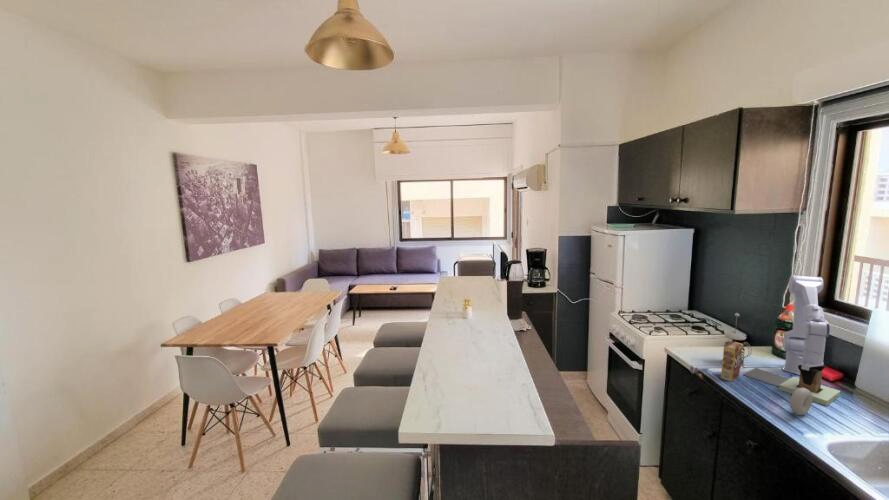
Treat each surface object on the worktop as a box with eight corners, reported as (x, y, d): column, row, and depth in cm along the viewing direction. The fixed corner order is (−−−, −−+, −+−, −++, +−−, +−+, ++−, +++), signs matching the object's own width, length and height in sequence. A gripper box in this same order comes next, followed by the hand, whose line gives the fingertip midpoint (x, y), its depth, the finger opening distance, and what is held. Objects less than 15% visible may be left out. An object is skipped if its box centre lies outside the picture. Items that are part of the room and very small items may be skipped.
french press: (728, 357, 177) (732, 309, 174) (755, 367, 167) (760, 316, 163) (715, 361, 174) (719, 311, 171) (741, 371, 163) (746, 319, 160)
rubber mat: (755, 368, 166) (756, 367, 166) (790, 379, 155) (790, 378, 155) (743, 375, 160) (743, 374, 160) (777, 387, 149) (778, 386, 149)
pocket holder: (793, 380, 154) (793, 376, 154) (839, 395, 142) (840, 390, 142) (778, 389, 148) (779, 384, 147) (826, 405, 135) (827, 401, 135)
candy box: (732, 382, 154) (735, 348, 152) (720, 378, 158) (723, 345, 156) (740, 376, 159) (743, 343, 157) (728, 372, 163) (731, 340, 161)
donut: (798, 420, 127) (801, 393, 126) (786, 414, 131) (789, 389, 129) (812, 412, 131) (815, 387, 130) (800, 408, 135) (803, 383, 133)
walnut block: (803, 384, 148) (805, 366, 147) (820, 390, 144) (822, 371, 143) (798, 388, 146) (800, 369, 145) (815, 393, 141) (817, 374, 140)
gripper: (807, 343, 149) (803, 373, 151) (792, 350, 143) (789, 382, 144) (831, 349, 143) (827, 380, 145) (817, 357, 136) (813, 390, 138)
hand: (809, 382), depth 144 cm, fingers closed on walnut block, 5 cm apart
